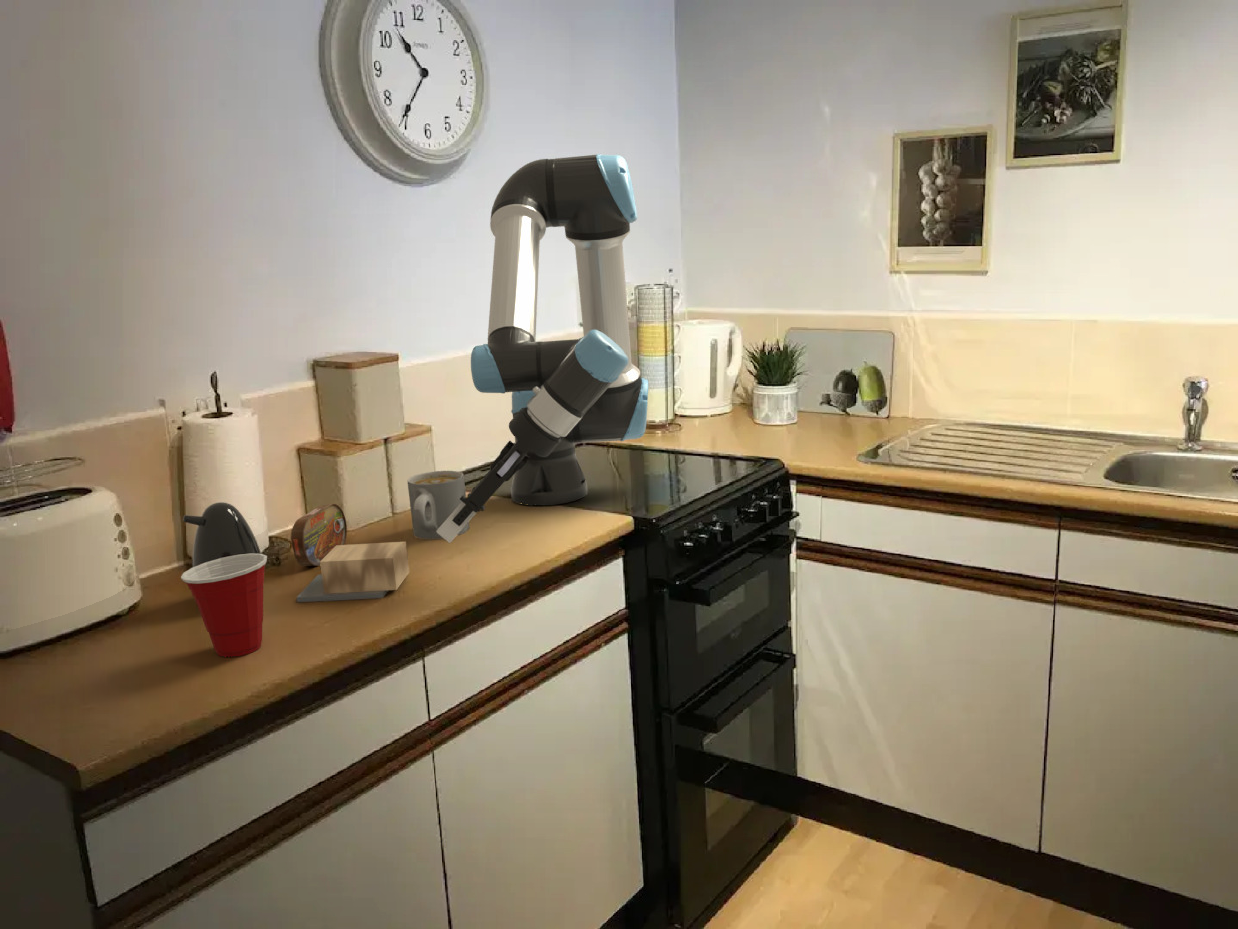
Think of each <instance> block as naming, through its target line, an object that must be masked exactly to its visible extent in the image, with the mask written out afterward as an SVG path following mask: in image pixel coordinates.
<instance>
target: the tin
mask: <svg viewBox="0 0 1238 929" xmlns="http://www.w3.org/2000/svg"><path fill="white" fill-rule="evenodd" d="M347 535H348V526H347V520H346V516H345V514H344V510H343V509H342V508H341V507H340V505H338V504H336V503H330V504H324V505H323V504H322V505H319V506H317V507H315V508H314V509H312V510H311V511H309V512H308V513H306V514H304V515H303V516H301V517H300V518H298V519H296V521H295V522H294V524H293V525H292V529H291V532H290V541H291V545H292V551H293V554H294V558H295V561H296V562H298V564H300V565H301V566H305V567H308V566H309V567H313V566H315V567H319V566H320V561H321V560H322V559H323V558H324V557H325V556H326V555H327V554H328V553H329V552H330V551H331V550H332V549H333V548H334V547H335V546H336V545H346V542H347Z"/></svg>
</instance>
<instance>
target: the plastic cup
mask: <svg viewBox="0 0 1238 929" xmlns="http://www.w3.org/2000/svg"><path fill="white" fill-rule="evenodd" d="M267 559H268V556H267V554H263V553H261V554H252V553H251V554H242V555H234V556H229V557H224V558H220V559H216V560H213V561H209V562H206V563H203V564H200V565H198V566H195V567H193V566H192V567H190V568H189V569H187V570H186V571H184V572H182V574H181V576H180V578H181V580H182V581H183V582H184V583H185V584H186V585H187V587H188V588H189V590H190V593H191V594H192V596H193V598H194V600H195V603H196V606H197V608H198V610H199V613H200V616H201V618H202V619H201V620H202V621H203V624H204V626H205V630H206V632H208V635H209V637H210V640H211V644H212V646H213V649H214V650H215V652H216V654H217V656H219V657H222V656H224V657H223V658H235V657H234V656H236V657H241V656H246V655H250V654H252V653H254V652H255V651H258V650H259V649H260V648H261V647H262V642H263V624H264V623H263V622H264V581H265V571H266V564H267V561H268V560H267ZM264 568H265V570H264ZM227 656H228V657H227ZM230 656H231V657H230ZM232 656H233V657H232Z"/></svg>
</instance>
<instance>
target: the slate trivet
mask: <svg viewBox="0 0 1238 929" xmlns="http://www.w3.org/2000/svg"><path fill="white" fill-rule="evenodd" d="M388 592H389V590H383V591H364V592H345V593H325V594H324V587H323V580H322V574H317V575H316V577H314V579H313V580H312V581H311V582H310V583H309V584H308V585H307V586H306V587H304V589H302V591H301V592H300V593H298V595H297V596H296V602H297V603H310V602H330V601H349V600H350V601H352V600H366V599H367V600H368V599H383V598H384V597H385V595H386V594H387V593H388Z"/></svg>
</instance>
